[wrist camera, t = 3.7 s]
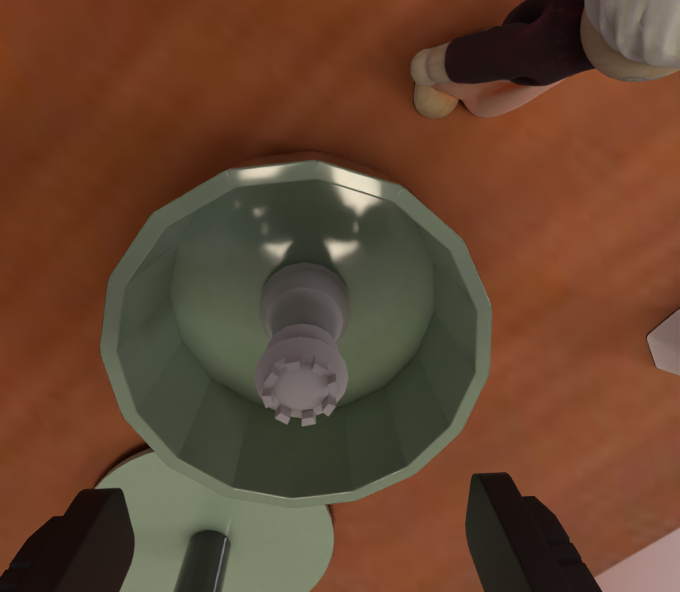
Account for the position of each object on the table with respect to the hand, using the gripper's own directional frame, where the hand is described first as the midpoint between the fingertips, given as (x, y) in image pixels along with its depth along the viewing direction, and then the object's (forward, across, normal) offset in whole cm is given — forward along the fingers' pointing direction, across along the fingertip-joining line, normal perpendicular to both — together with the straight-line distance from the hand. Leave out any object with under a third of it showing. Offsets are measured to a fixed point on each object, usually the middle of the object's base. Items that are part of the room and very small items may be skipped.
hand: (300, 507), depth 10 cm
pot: (+13, 0, 0) cm, 13 cm away
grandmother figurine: (+13, -7, -10) cm, 18 cm away
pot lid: (+12, +7, +15) cm, 21 cm away
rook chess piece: (+12, 0, 0) cm, 13 cm away
